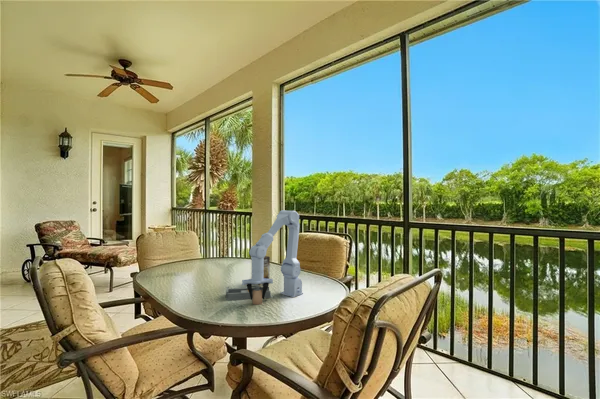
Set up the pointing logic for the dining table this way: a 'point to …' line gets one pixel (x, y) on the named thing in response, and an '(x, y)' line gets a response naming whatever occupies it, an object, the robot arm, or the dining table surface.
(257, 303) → the jar
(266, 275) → the coffee box
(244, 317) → the dining table surface
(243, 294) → the tray
